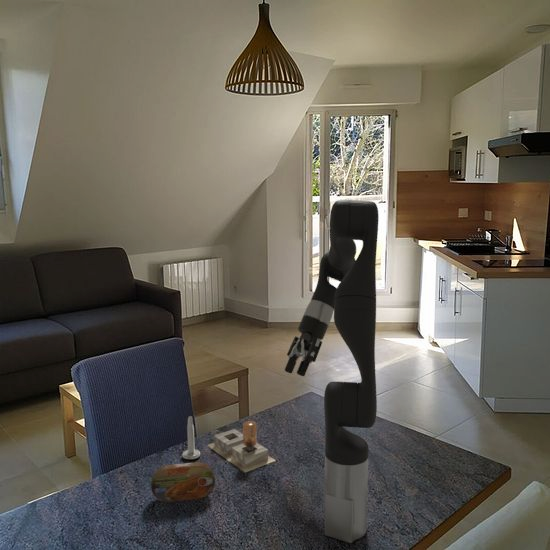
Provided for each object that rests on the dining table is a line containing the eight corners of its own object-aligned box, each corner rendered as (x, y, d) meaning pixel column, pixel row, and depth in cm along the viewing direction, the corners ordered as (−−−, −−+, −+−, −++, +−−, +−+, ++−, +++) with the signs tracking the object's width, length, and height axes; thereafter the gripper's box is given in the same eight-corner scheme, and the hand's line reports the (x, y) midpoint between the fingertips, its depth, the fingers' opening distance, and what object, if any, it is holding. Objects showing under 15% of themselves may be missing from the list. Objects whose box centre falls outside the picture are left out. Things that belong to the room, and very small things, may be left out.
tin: (151, 503, 132) (150, 471, 131) (152, 496, 135) (150, 464, 134) (215, 497, 135) (214, 465, 133) (214, 490, 138) (214, 459, 136)
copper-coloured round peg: (252, 463, 148) (252, 427, 146) (241, 460, 150) (240, 425, 148) (259, 457, 151) (258, 422, 150) (247, 454, 153) (247, 420, 151)
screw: (198, 455, 155) (202, 463, 151) (180, 458, 153) (184, 466, 149) (196, 411, 153) (201, 417, 149) (179, 413, 151) (183, 420, 147)
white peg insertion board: (275, 464, 150) (275, 450, 149) (245, 476, 144) (244, 461, 143) (236, 439, 165) (236, 425, 164) (207, 449, 159) (206, 435, 158)
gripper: (294, 314, 162) (272, 366, 158) (316, 313, 148) (292, 370, 145) (316, 325, 164) (294, 376, 160) (339, 325, 151) (316, 381, 147)
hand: (293, 373), depth 152 cm, fingers open, 8 cm apart
